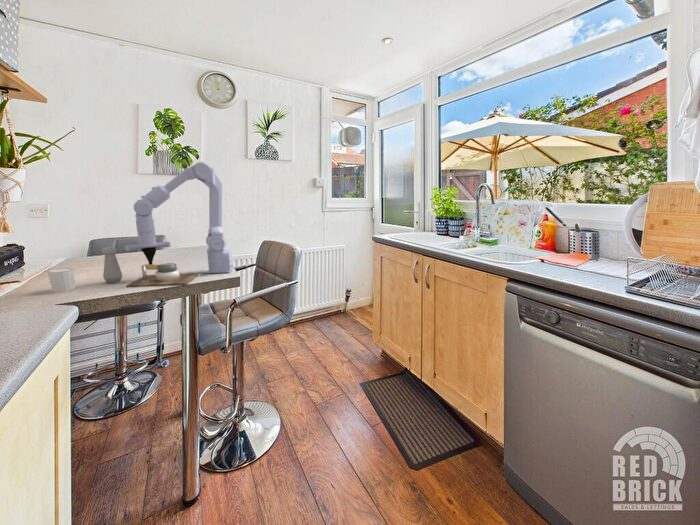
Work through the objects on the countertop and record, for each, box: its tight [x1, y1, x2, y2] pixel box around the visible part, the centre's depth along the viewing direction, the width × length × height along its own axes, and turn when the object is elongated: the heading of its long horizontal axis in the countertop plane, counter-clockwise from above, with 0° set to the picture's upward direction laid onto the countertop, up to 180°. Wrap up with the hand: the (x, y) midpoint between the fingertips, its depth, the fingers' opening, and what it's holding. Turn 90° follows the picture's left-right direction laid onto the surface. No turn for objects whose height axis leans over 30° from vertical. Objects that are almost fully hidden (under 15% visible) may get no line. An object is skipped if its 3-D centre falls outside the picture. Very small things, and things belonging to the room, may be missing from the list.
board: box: [125, 272, 201, 288], centre depth 126 cm, size 20×16×1 cm
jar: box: [154, 268, 181, 281], centre depth 126 cm, size 8×8×3 cm
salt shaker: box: [101, 246, 123, 284], centre depth 122 cm, size 6×6×13 cm
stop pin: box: [141, 265, 150, 283], centre depth 121 cm, size 3×3×6 cm
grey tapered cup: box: [46, 267, 76, 293], centre depth 113 cm, size 7×7×7 cm
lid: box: [142, 262, 178, 272], centre depth 125 cm, size 12×6×2 cm, turn 85°
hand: (150, 267), depth 128 cm, fingers closed, pressing on lid
